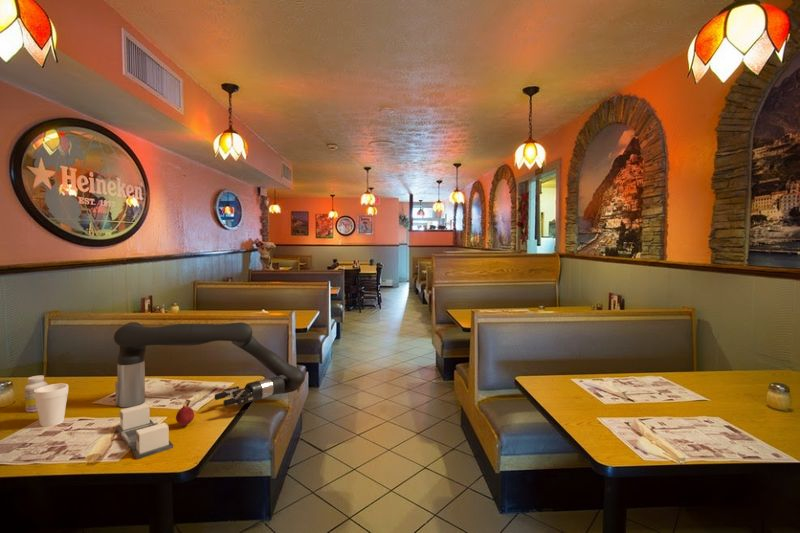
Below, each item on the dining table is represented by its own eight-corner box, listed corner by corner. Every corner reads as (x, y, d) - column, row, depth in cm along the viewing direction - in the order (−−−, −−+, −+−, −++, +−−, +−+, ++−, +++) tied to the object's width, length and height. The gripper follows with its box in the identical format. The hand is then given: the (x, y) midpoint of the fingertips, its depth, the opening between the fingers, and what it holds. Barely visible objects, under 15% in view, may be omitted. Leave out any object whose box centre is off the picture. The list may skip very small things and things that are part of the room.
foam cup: (30, 430, 136) (29, 394, 135) (39, 420, 144) (39, 385, 144) (65, 425, 140) (64, 390, 140) (72, 415, 148) (71, 382, 148)
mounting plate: (115, 429, 138) (115, 423, 138) (149, 420, 146) (149, 415, 146) (135, 459, 119) (135, 453, 119) (174, 447, 126) (174, 441, 126)
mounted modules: (119, 426, 138) (119, 410, 138) (146, 419, 144) (146, 403, 144) (138, 454, 120) (138, 435, 120) (168, 444, 126) (168, 426, 126)
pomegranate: (197, 424, 143) (197, 402, 143) (184, 430, 138) (184, 408, 137) (185, 421, 145) (185, 400, 145) (172, 428, 140) (172, 406, 139)
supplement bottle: (44, 404, 158) (43, 373, 158) (51, 408, 155) (50, 376, 154) (22, 410, 153) (21, 377, 152) (28, 414, 149) (27, 381, 149)
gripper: (251, 376, 166) (212, 386, 155) (267, 385, 157) (226, 395, 145) (251, 394, 167) (212, 404, 155) (267, 403, 157) (227, 415, 145)
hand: (219, 400), depth 150 cm, fingers open, 8 cm apart
